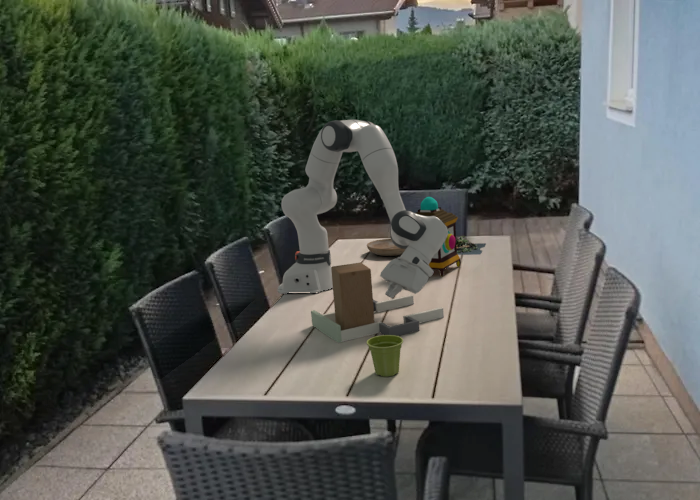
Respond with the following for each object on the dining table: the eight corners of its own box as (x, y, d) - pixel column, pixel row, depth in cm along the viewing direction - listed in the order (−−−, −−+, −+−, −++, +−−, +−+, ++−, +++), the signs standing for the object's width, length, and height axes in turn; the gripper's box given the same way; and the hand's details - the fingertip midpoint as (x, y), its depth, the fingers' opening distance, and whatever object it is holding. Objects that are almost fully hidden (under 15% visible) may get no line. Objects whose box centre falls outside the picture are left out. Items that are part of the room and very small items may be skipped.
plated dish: (407, 258, 303) (406, 242, 301) (418, 245, 329) (417, 230, 328) (488, 258, 293) (487, 241, 292) (492, 245, 320) (492, 229, 318)
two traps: (370, 306, 235) (370, 298, 234) (419, 330, 207) (418, 321, 207) (343, 312, 231) (342, 304, 230) (389, 338, 203) (388, 328, 202)
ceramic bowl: (403, 261, 296) (403, 249, 295) (357, 257, 309) (357, 247, 308) (428, 249, 315) (427, 238, 314) (384, 246, 328) (383, 236, 327)
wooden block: (375, 332, 209) (371, 268, 205) (344, 337, 206) (338, 273, 202) (366, 322, 218) (361, 261, 214) (335, 327, 216) (330, 266, 212)
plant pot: (367, 367, 182) (364, 336, 180) (402, 363, 183) (400, 333, 181) (371, 381, 173) (368, 349, 171) (408, 377, 174) (406, 345, 172)
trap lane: (411, 303, 235) (411, 289, 234) (443, 317, 218) (442, 302, 217) (312, 325, 220) (310, 310, 218) (338, 342, 202) (336, 326, 201)
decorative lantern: (465, 266, 279) (462, 192, 273) (444, 278, 263) (441, 201, 257) (421, 263, 290) (417, 192, 284) (399, 274, 274) (394, 200, 268)
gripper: (391, 250, 229) (366, 283, 227) (424, 262, 211) (398, 298, 209) (403, 261, 232) (379, 294, 230) (436, 273, 214) (411, 309, 212)
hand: (388, 296), depth 219 cm, fingers closed
